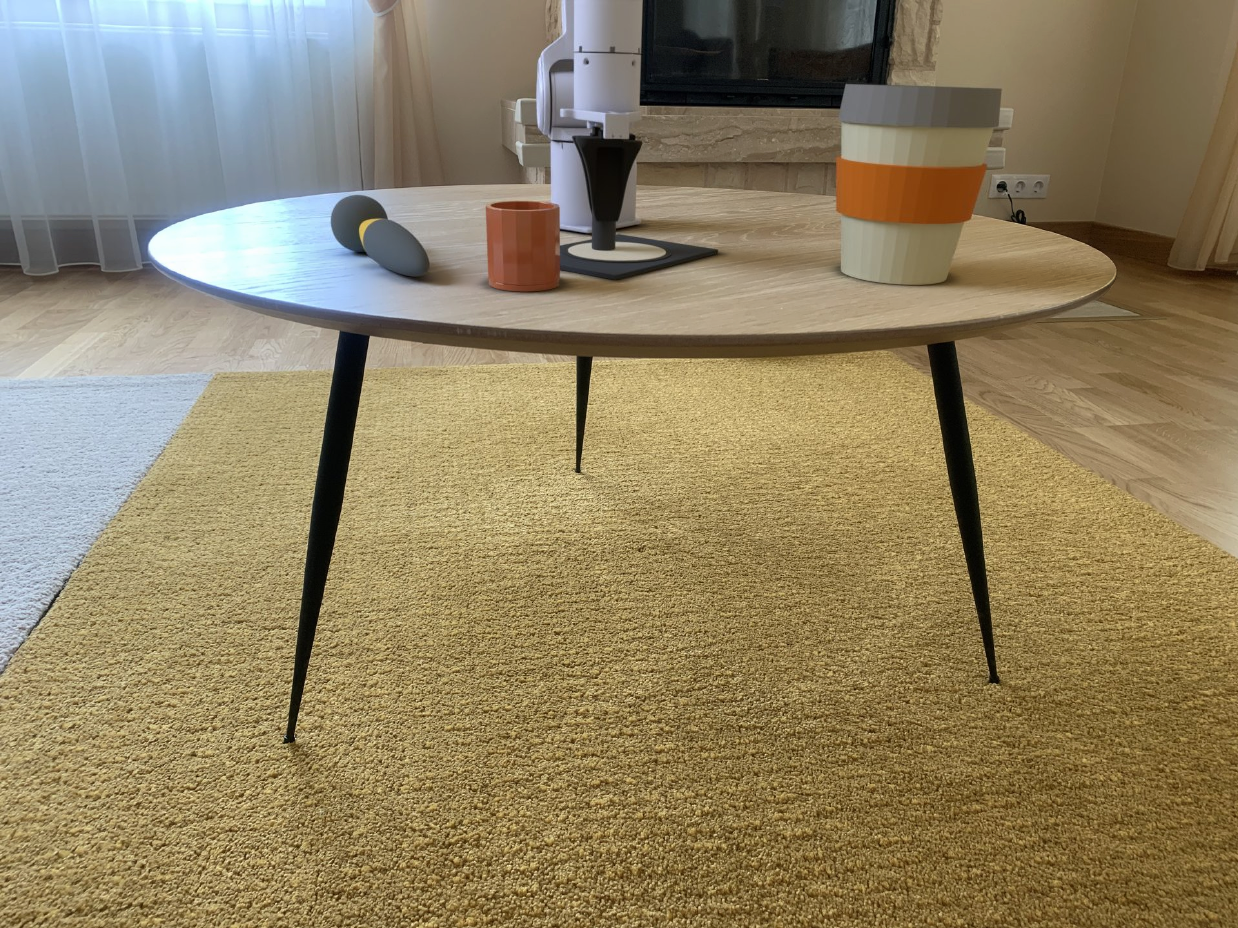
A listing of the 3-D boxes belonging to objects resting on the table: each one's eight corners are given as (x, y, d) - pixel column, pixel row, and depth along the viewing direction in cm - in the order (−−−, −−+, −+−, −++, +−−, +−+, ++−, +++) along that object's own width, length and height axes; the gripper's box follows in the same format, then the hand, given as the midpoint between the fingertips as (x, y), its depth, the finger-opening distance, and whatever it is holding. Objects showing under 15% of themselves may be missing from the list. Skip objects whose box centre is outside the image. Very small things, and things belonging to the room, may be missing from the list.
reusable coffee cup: (994, 290, 70) (1035, 90, 64) (842, 288, 70) (869, 85, 64) (935, 260, 82) (965, 87, 76) (804, 258, 81) (824, 83, 75)
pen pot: (522, 273, 72) (521, 198, 70) (574, 283, 69) (574, 205, 67) (473, 284, 68) (470, 205, 66) (525, 295, 65) (524, 213, 63)
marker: (601, 245, 82) (603, 144, 78) (620, 248, 81) (623, 145, 77) (586, 248, 80) (586, 145, 76) (605, 252, 79) (607, 147, 75)
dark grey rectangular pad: (618, 238, 89) (618, 232, 89) (718, 253, 82) (718, 247, 82) (508, 260, 77) (508, 253, 77) (615, 280, 71) (615, 273, 70)
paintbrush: (467, 279, 70) (464, 215, 68) (410, 286, 67) (405, 220, 65) (367, 241, 84) (362, 187, 82) (316, 246, 81) (310, 191, 79)
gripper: (554, 54, 80) (555, 207, 85) (567, 51, 67) (567, 231, 72) (630, 56, 81) (626, 207, 86) (657, 53, 68) (650, 231, 73)
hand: (604, 218), depth 79 cm, fingers closed on marker, 2 cm apart
